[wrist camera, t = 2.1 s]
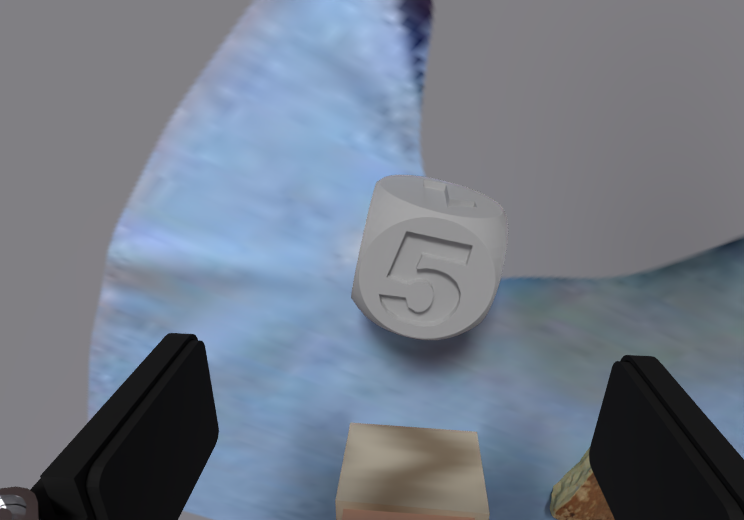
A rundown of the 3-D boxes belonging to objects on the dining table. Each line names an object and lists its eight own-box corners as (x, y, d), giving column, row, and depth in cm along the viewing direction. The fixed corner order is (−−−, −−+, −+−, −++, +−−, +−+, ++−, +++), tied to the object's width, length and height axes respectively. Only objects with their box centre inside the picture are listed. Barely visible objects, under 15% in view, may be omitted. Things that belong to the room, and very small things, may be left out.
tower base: (476, 430, 24) (489, 513, 20) (465, 517, 27) (475, 607, 23) (350, 421, 25) (335, 500, 21) (352, 507, 28) (339, 593, 23)
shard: (784, 481, 24) (810, 511, 23) (691, 560, 27) (708, 591, 26) (608, 410, 24) (623, 436, 22) (533, 500, 27) (541, 528, 25)
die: (495, 191, 19) (519, 231, 14) (463, 291, 21) (475, 354, 17) (381, 166, 19) (369, 198, 15) (360, 269, 21) (344, 325, 17)
